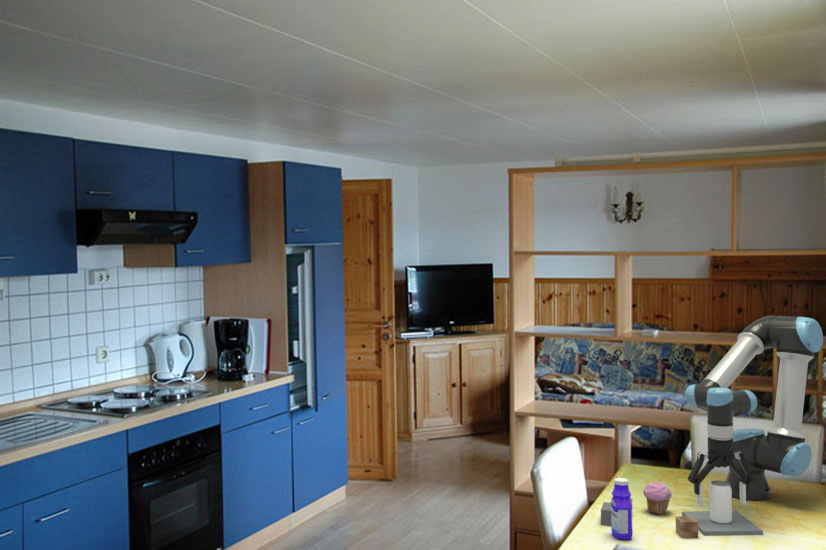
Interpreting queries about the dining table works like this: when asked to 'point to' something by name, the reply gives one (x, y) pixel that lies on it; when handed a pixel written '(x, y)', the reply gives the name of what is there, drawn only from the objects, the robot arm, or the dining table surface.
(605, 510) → the charcoal block
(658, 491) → the cupcake
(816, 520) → the dining table surface
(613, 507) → the bottle
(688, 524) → the walnut block
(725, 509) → the can
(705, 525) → the board
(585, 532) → the dining table surface
